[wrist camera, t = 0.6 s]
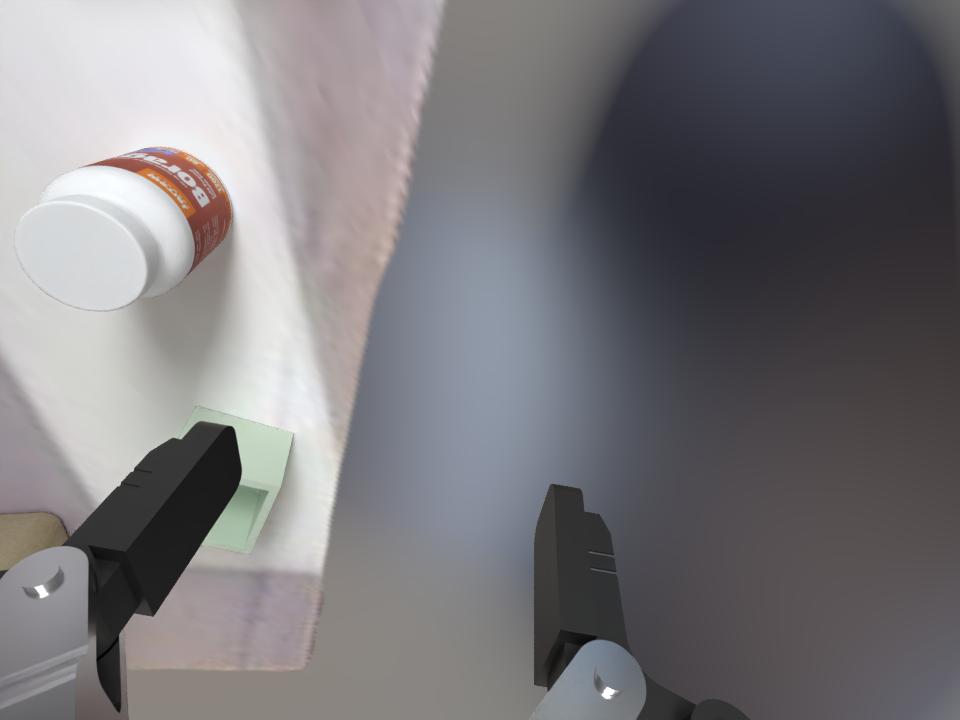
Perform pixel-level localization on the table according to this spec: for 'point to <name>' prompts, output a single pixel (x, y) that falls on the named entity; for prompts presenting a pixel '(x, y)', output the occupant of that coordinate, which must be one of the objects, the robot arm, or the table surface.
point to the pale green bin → (247, 480)
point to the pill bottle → (123, 228)
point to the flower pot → (28, 536)
